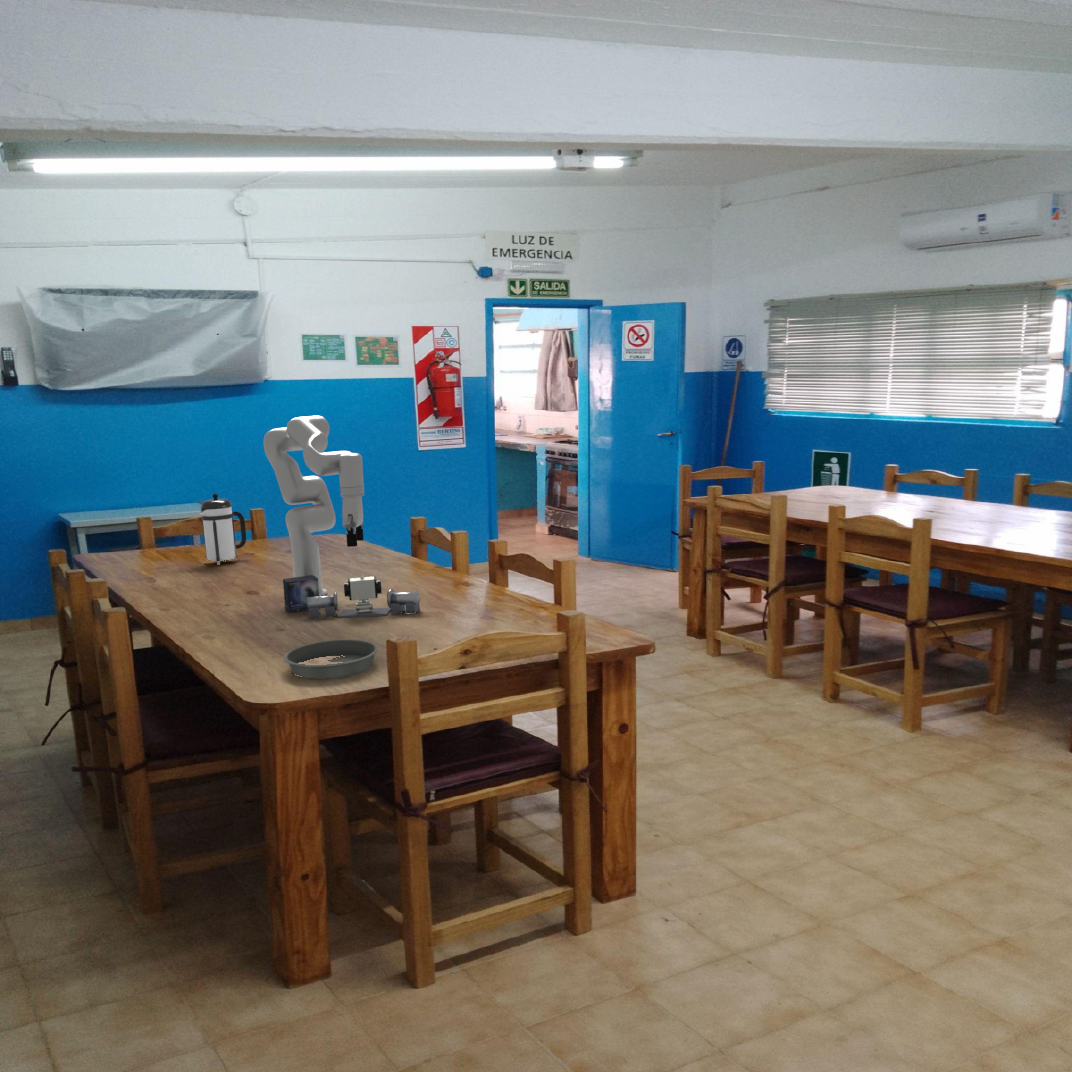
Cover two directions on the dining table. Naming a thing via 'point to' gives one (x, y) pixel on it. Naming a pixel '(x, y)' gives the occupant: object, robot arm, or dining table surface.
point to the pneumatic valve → (363, 592)
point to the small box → (299, 591)
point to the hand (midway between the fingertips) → (355, 543)
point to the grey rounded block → (403, 601)
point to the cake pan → (354, 661)
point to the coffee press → (220, 529)
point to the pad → (354, 613)
